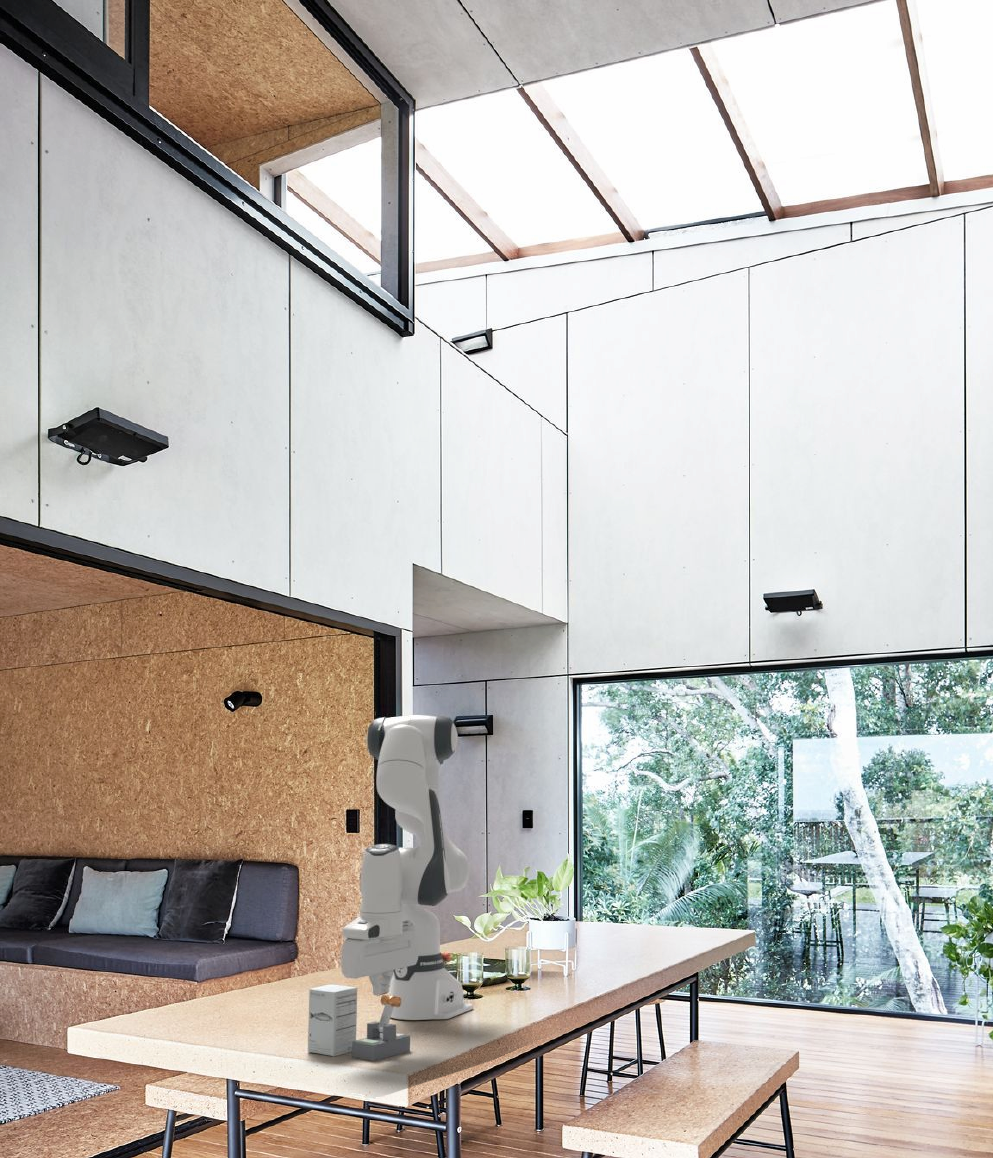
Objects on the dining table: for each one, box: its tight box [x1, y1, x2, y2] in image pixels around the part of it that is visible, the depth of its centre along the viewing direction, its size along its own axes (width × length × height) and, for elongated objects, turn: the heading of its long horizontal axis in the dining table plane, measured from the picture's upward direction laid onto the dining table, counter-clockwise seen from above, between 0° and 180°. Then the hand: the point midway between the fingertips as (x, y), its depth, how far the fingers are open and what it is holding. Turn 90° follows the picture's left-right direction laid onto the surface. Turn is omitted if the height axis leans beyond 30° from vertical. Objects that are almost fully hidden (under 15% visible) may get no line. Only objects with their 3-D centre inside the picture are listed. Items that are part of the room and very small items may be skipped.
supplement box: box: [307, 984, 358, 1057], centre depth 237 cm, size 7×7×13 cm
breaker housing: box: [351, 1021, 411, 1062], centre depth 234 cm, size 11×6×6 cm, turn 144°
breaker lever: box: [376, 994, 402, 1034], centre depth 236 cm, size 2×4×8 cm
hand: (380, 994), depth 235 cm, fingers closed
